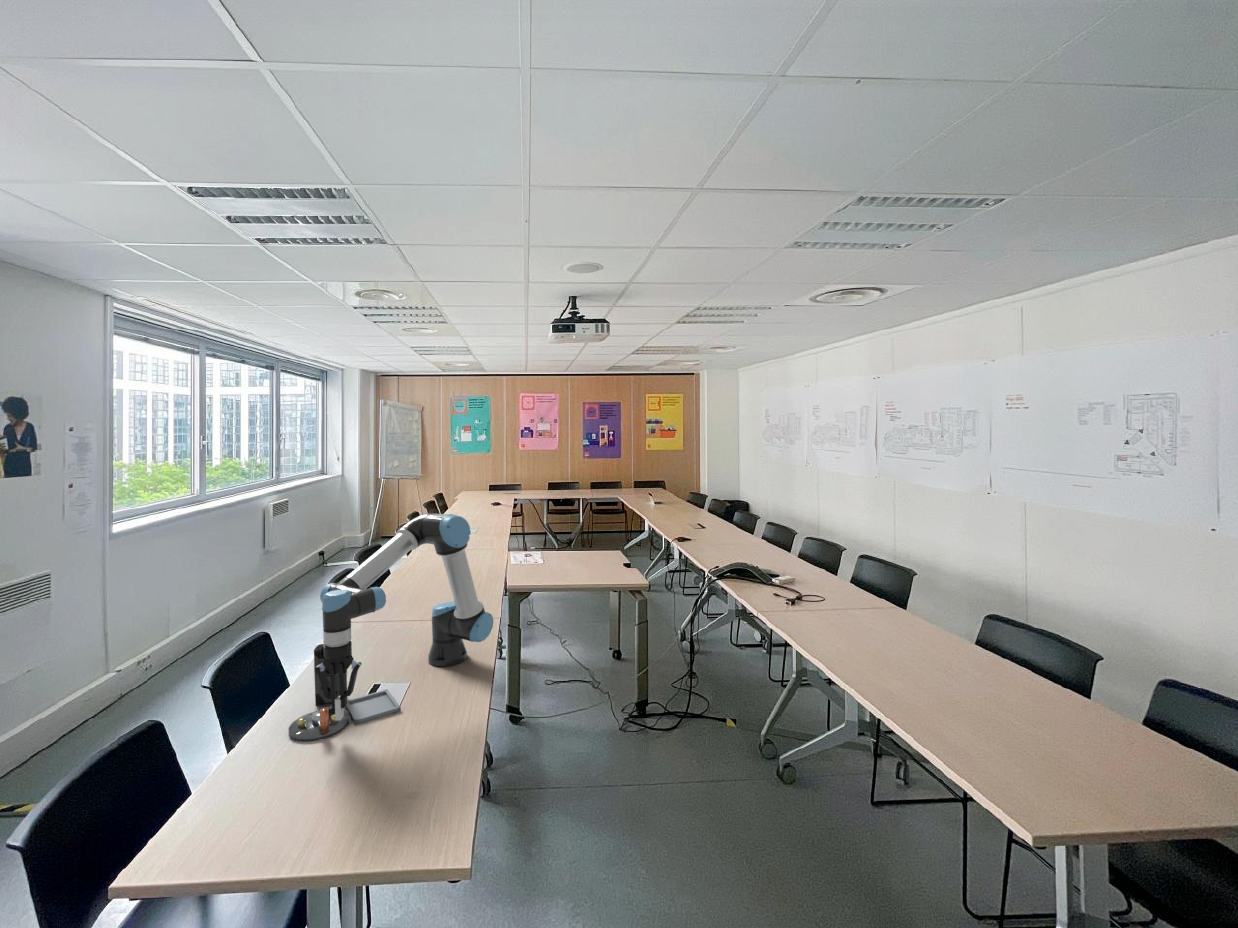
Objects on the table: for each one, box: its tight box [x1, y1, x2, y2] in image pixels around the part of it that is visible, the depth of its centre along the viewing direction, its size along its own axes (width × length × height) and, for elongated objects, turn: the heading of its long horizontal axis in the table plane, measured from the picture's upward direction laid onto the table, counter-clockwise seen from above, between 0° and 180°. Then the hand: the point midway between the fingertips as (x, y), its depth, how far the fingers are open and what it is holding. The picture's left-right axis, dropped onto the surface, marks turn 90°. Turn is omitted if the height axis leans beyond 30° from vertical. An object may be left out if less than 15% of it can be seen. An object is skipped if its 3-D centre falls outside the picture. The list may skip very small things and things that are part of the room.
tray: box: [344, 688, 402, 726], centre depth 183 cm, size 14×16×2 cm
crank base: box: [288, 708, 351, 743], centre depth 172 cm, size 17×17×4 cm
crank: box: [312, 707, 330, 734], centre depth 169 cm, size 11×4×7 cm, turn 38°
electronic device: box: [313, 643, 340, 708], centre depth 187 cm, size 9×6×20 cm, turn 105°
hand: (339, 718), depth 166 cm, fingers closed
